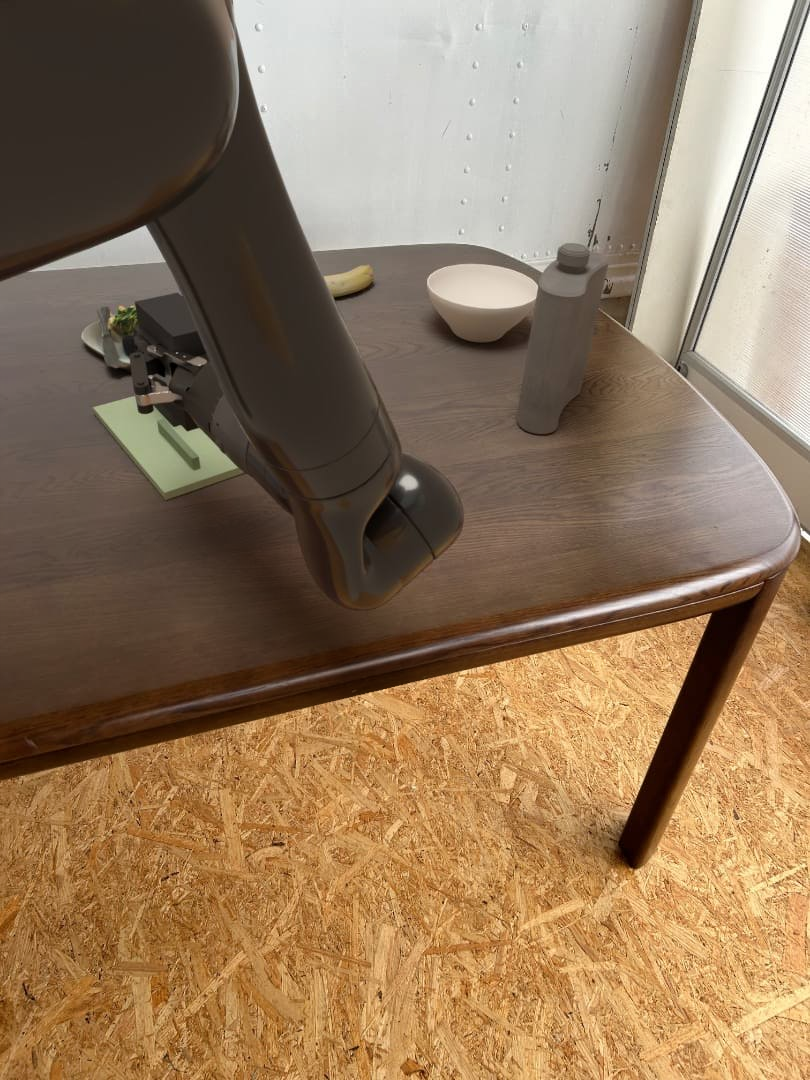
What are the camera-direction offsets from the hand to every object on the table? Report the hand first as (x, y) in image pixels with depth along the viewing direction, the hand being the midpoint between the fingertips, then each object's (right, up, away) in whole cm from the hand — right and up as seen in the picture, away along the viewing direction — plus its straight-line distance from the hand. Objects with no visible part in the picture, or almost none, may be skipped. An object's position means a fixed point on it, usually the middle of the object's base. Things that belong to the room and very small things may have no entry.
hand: (166, 333), depth 70 cm
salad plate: (-13, +8, +36) cm, 39 cm away
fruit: (+10, +21, +54) cm, 59 cm away
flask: (+39, -2, +30) cm, 49 cm away
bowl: (+32, +12, +45) cm, 57 cm away
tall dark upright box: (+1, -6, +2) cm, 7 cm away
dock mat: (-3, -6, +20) cm, 21 cm away
